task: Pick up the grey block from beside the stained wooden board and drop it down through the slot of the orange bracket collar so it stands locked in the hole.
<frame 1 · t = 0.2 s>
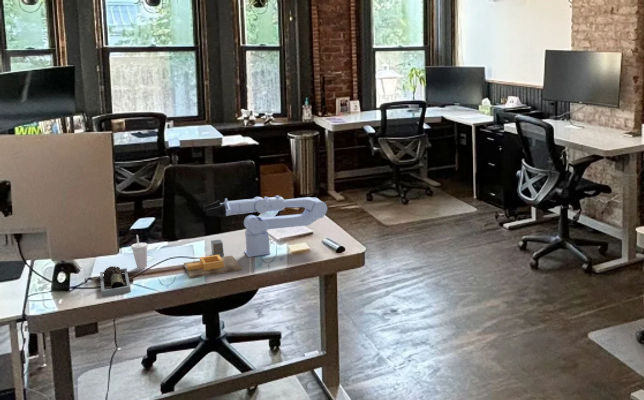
hand: (205, 210, 257), 21 cm above the table, tool horizontal, fingers open, 7 cm apart
smoothie: (142, 268, 257), on the table
grey block: (217, 255, 268), on the table
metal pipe: (114, 285, 241), on the table
base plate: (212, 267, 254), on the table
pipe rest: (115, 284, 241), on the table
bracket collar: (204, 263, 252), on the base plate, point 2 cm above the table
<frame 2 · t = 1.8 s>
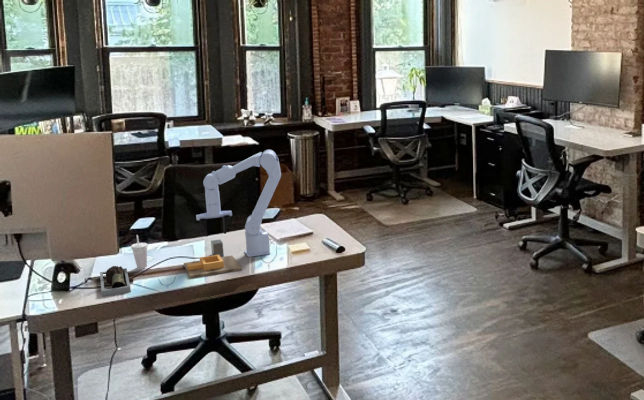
hand: (215, 234, 266), 9 cm above the table, tool pointing down, fingers open, 7 cm apart
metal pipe: (116, 284, 241), on the table, touching pipe rest
everything else where it was.
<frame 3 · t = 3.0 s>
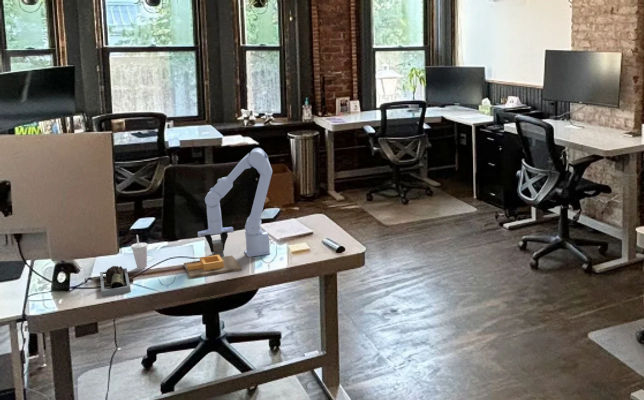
hand: (217, 250, 267), 2 cm above the table, tool pointing down, fingers closed on grey block, 4 cm apart
grey block: (217, 255, 268), on the table, touching gripper
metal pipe: (116, 284, 241), on the table
everything else where it was.
when the fingers open (4 cm above the table, at t = 6.5 s): grey block drops 2 cm, on the table.
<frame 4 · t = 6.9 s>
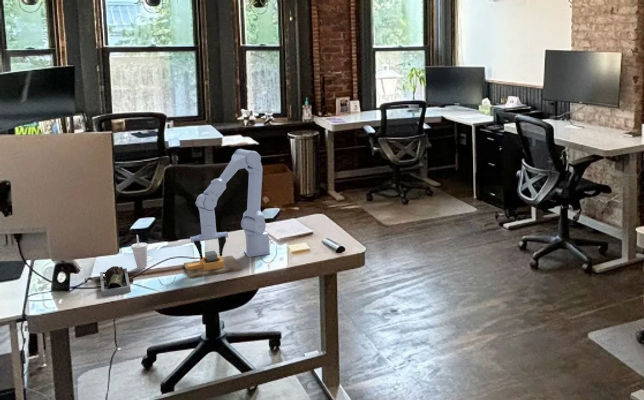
hand: (211, 257, 252), 4 cm above the table, tool pointing down, fingers open, 7 cm apart
grey block: (212, 267, 254), on the table
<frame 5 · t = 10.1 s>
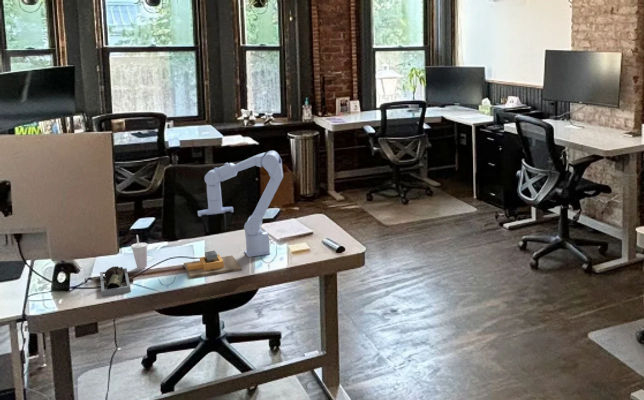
hand: (217, 230, 267), 10 cm above the table, tool pointing down, fingers open, 7 cm apart
nothing on the table moved.
at the end: grey block 0.4 cm off-centre on the base plate, point 0.0 cm above the base plate's base; grey block tilted 0°; the gripper is holding nothing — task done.
